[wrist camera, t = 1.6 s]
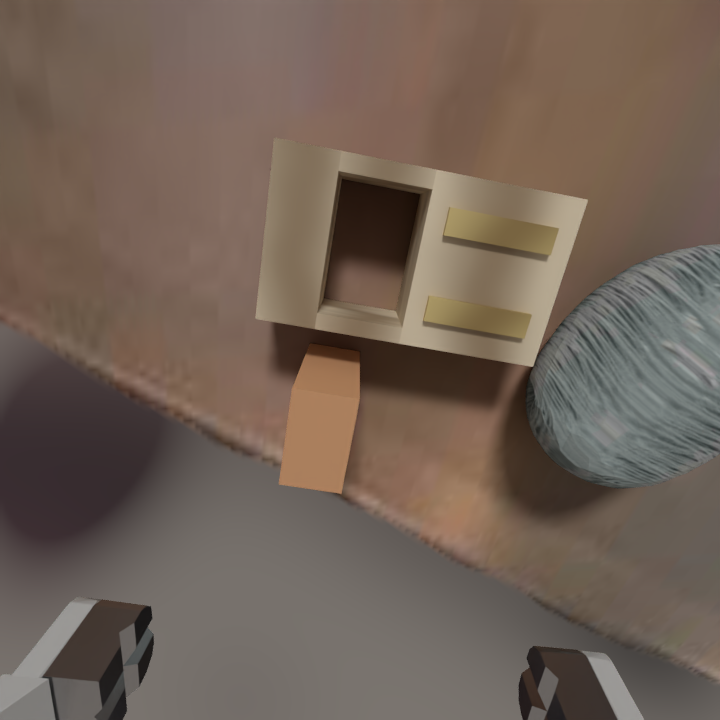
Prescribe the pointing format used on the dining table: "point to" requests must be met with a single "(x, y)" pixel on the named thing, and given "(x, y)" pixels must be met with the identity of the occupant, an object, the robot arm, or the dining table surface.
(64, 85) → the dining table surface
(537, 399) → the spool
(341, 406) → the orange rectangular block
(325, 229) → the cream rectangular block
